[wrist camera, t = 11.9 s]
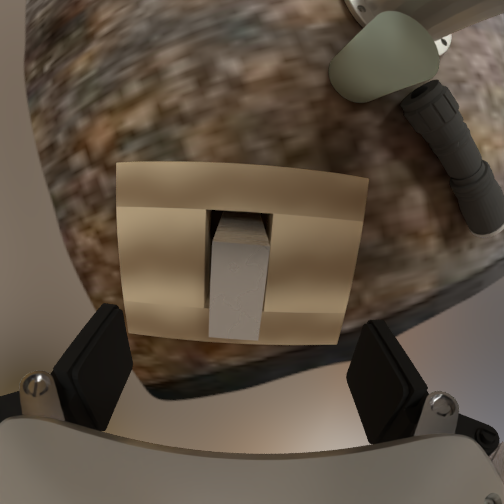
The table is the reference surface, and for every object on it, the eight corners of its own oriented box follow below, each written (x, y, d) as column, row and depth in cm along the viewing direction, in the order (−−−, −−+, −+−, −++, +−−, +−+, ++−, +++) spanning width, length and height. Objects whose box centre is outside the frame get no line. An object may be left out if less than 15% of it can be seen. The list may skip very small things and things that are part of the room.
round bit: (329, 46, 19) (369, 0, 10) (380, 60, 19) (435, 28, 11) (327, 96, 20) (372, 66, 12) (380, 108, 21) (441, 91, 12)
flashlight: (385, 109, 21) (417, 100, 16) (416, 80, 20) (449, 69, 15) (460, 229, 25) (493, 244, 19) (485, 198, 23) (517, 208, 18)
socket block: (135, 161, 22) (116, 162, 18) (349, 174, 22) (368, 178, 19) (142, 310, 26) (128, 332, 22) (325, 320, 27) (336, 344, 23)
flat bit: (223, 210, 23) (212, 241, 15) (260, 213, 23) (270, 246, 15) (219, 277, 25) (208, 336, 17) (252, 280, 25) (258, 340, 17)
